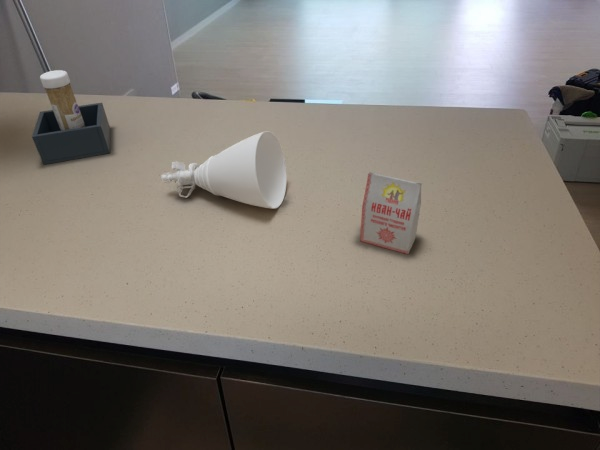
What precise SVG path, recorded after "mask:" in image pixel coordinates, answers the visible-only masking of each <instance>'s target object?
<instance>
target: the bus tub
mask: <svg viewBox="0 0 600 450" xmlns="http://www.w3.org/2000/svg"><path fill="white" fill-rule="evenodd" d="M78 107H79V110H80V112H81V115H82V118H83V121H84V125H85V127H81V128H75V129H68V130H62V131H61V129H60V127H59V124H58V122H57V119H56V117H55V114H54V111H53V109H49V110H43V111H41V110H40V111H39V114H38V116H37V119H36V122H35V126H34V129H33V132H32V135H31V139H32V141H33V143H34V146H35V148H36V150H37V152H38V155H39V157H40V159H41V162H42V164H43V165H50V164H55V163H56V164H57V163H61V162H67V161H72V160H79V159H84V158H90V157H96V156H101V155H107V154H110V153H111V126H110V123H109V120H108V117H107V114H106V110H105V108H104V104H103V102H97V103H90V104H83V105H78Z"/></svg>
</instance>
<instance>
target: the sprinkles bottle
mask: <svg viewBox="0 0 600 450" xmlns="http://www.w3.org/2000/svg"><path fill="white" fill-rule="evenodd" d="M39 79H40V82H41V85H42V87H43V88H44V90H45V93H46V94H47V97H48V100H49V103H50V106H51V110H53V111H54V114H55V117H56V119H57V122H58V124H59V127H60V129H61V131H62V130H68V129H75V128H81V127H85V125H84V121H83V118H82V115H81V112H80V110H79V107H78V106H79V105H78V102H77V99H76V97H75V93H74V92H73V88H72V85H71V79H70V76H69V73H68V72H67V71H65V70H64V69H63V70H62V69H55V70H50V71H46V72H44V73H42V74H41V75H40V76H39Z"/></svg>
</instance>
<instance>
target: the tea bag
mask: <svg viewBox="0 0 600 450" xmlns="http://www.w3.org/2000/svg"><path fill="white" fill-rule="evenodd" d="M364 190H365V191H364V195H363V201H362V205H361V206H362V208H361V220H360V221H361V222H360V237H359V238H360V239H359V241H360V242H362V243H365V244H369V245H373V246H377V247H379V248H384V249H387V250H391V251H395V252H398V253H401V254H402V253H403V254H405V255H409V253H410V251H411V250H412V247H413V245H414V242H415V240H416V238H417V231H418V224H419V219H420V212H421V206H422V183H421V182H417V181H412V180H409V179H404V178H398V177H393V176H389V175H384V174H381V173H380V174H379V173H375V172H371V171H369V172H368V173H367V180H366V185H365V189H364Z"/></svg>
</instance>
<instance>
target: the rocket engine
mask: <svg viewBox="0 0 600 450" xmlns="http://www.w3.org/2000/svg"><path fill="white" fill-rule="evenodd" d="M171 170H174V172H172V171H171ZM171 170H170V171H169V172H167V171H164V172H163V174H161V175H160V180H161V182H162V183H164V184H165V183H173V182H174V183H177V185H178V186H177V187H176V188H177V190H176V192H177V193H178V196H179V197H180V198H185V199H187V198H189V197H190V196H191V194H192V193H193V191H194V190H195V189H196V186H197V187H198V188H202V190H206V191H208V192H209V193H211V194H212V195H215V196H221V197H224V198H226V199H230V200H232V201H237V202H239V203H242V204H246V205H250V206H255V207H259V208H265V209H274V210H276V209H278V208H279V207H280V206H281V205H282V203H283V201H284V199H285V195H286V192H287V191H286V190H287V178H288V177H287V164H286V160H285V154H284V152H283V148H282V145H281V143H280V141H279V139H278V138H277V136H276V135H275V134H274V133H273V132H272V131H269V130H264V131H261V132H258V133H256V134H253V135H251V136H249V137H246V138H244V139H242V140H240V141H238V142H236V143H234V144H233V145H230V146H229V147H227V148H225V149H224V150H222V151H220V152H218V153H216V154H215V155H211V156H209V157H208V158H207V159H206V160H205V161H204V162H203V163H201V164H200V165H199V164H198V163H197V162H191V163H189V164H188V169H186V163H184V162H182V161H177V160H176V161H171ZM183 189H189V191H188V193H187V195H183V194H182V192H183Z"/></svg>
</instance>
